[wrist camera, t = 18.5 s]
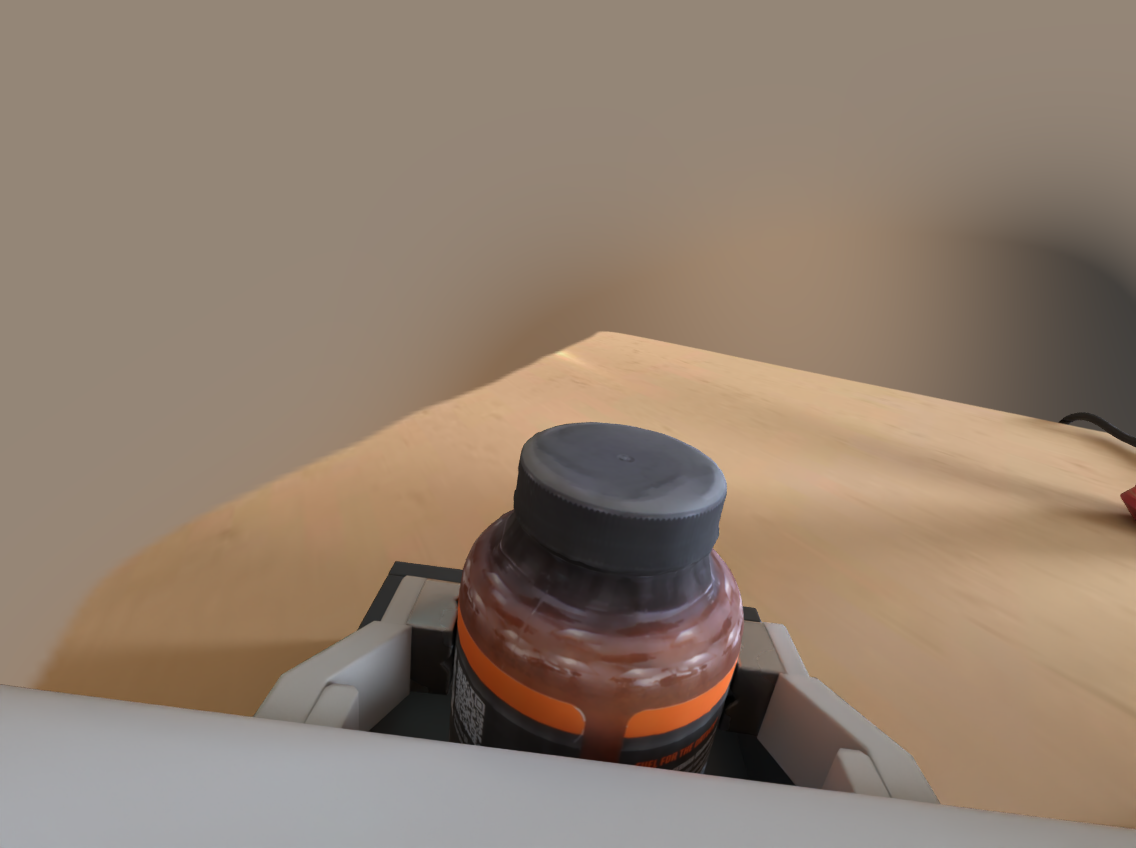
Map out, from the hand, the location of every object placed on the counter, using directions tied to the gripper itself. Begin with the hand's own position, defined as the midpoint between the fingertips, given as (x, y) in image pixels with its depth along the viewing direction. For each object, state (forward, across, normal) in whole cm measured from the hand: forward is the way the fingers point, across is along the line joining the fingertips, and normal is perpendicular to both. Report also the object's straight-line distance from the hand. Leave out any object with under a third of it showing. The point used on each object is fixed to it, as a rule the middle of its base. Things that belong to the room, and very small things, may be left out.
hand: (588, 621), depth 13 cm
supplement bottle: (-1, 0, +7) cm, 7 cm away
